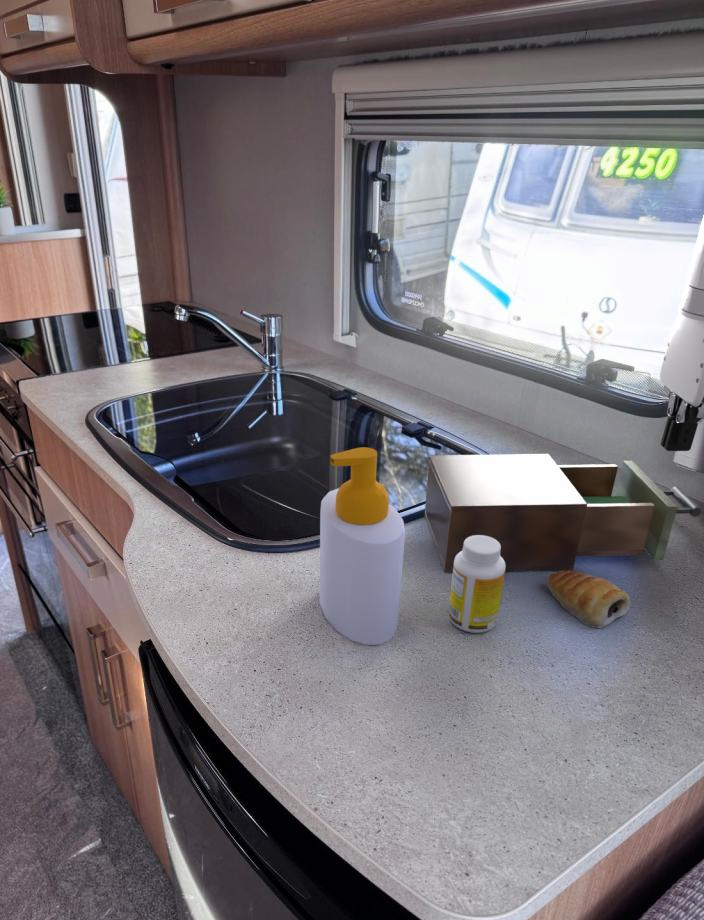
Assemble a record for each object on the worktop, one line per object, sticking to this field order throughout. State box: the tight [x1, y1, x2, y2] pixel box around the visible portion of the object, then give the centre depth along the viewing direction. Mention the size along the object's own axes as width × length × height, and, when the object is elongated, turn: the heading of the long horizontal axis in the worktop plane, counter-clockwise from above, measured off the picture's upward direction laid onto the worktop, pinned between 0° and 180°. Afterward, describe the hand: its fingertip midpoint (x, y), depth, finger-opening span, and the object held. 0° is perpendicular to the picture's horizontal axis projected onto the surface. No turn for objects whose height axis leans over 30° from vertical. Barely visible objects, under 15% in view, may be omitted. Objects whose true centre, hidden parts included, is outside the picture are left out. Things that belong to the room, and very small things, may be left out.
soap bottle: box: [318, 446, 406, 646], centre depth 79 cm, size 13×8×20 cm, turn 20°
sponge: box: [582, 495, 630, 504], centre depth 97 cm, size 7×4×4 cm, turn 93°
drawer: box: [557, 460, 702, 561], centre depth 96 cm, size 21×13×8 cm, turn 93°
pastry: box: [547, 570, 631, 629], centre depth 85 cm, size 9×7×4 cm
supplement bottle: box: [448, 535, 506, 634], centre depth 80 cm, size 6×6×10 cm
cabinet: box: [423, 453, 587, 574], centre depth 96 cm, size 17×15×10 cm
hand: (674, 448), depth 92 cm, fingers closed
